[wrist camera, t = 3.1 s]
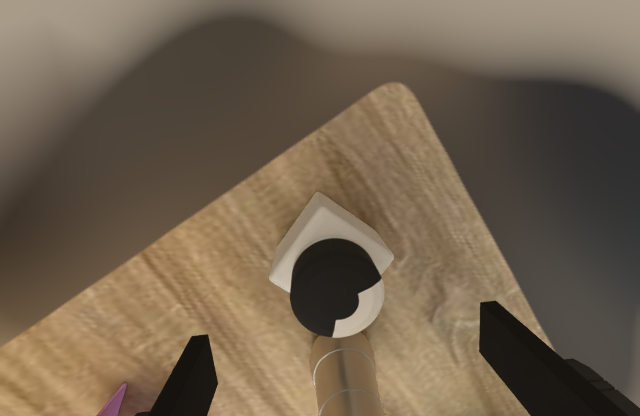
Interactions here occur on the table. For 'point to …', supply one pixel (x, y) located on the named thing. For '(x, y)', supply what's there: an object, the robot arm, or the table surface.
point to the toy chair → (114, 403)
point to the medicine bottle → (332, 269)
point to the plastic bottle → (345, 376)
